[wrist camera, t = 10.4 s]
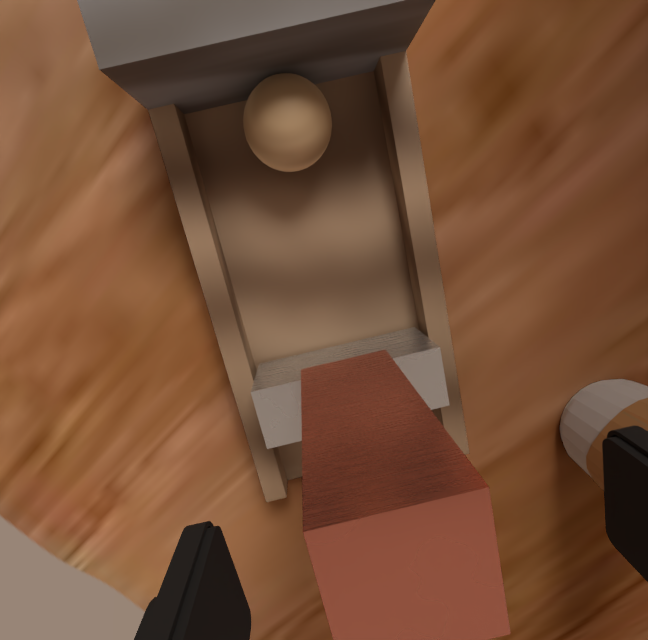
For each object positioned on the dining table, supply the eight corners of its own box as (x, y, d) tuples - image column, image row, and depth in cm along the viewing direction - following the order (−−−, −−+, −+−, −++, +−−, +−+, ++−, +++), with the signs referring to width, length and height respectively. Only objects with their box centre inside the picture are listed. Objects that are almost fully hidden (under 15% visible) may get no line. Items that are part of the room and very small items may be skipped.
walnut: (245, 121, 20) (224, 61, 16) (321, 104, 20) (319, 39, 16) (262, 194, 19) (244, 151, 16) (339, 176, 20) (342, 129, 16)
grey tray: (149, 63, 20) (66, -32, 13) (380, 11, 20) (425, -112, 13) (269, 473, 25) (258, 566, 18) (450, 429, 25) (509, 505, 18)
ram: (256, 355, 22) (185, 560, 8) (413, 318, 22) (603, 459, 8) (274, 419, 23) (238, 700, 9) (424, 383, 23) (614, 608, 9)
